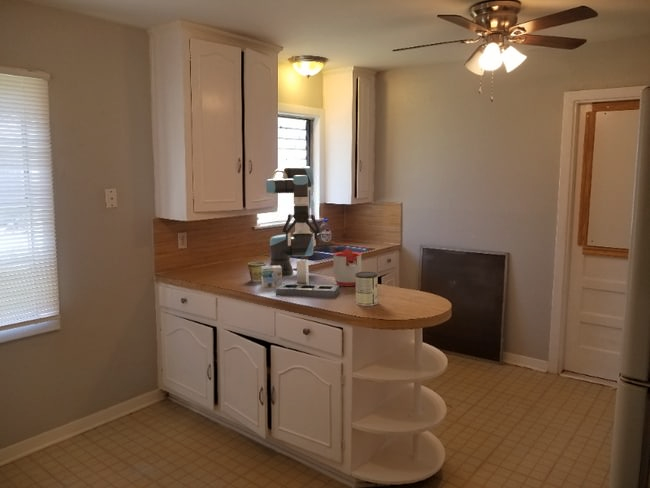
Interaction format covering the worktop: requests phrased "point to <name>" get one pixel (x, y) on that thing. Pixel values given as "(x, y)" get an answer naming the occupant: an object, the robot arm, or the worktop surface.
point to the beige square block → (302, 271)
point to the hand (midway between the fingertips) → (301, 245)
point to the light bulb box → (271, 276)
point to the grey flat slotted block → (308, 290)
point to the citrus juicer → (346, 267)
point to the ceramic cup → (255, 270)
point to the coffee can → (366, 288)
